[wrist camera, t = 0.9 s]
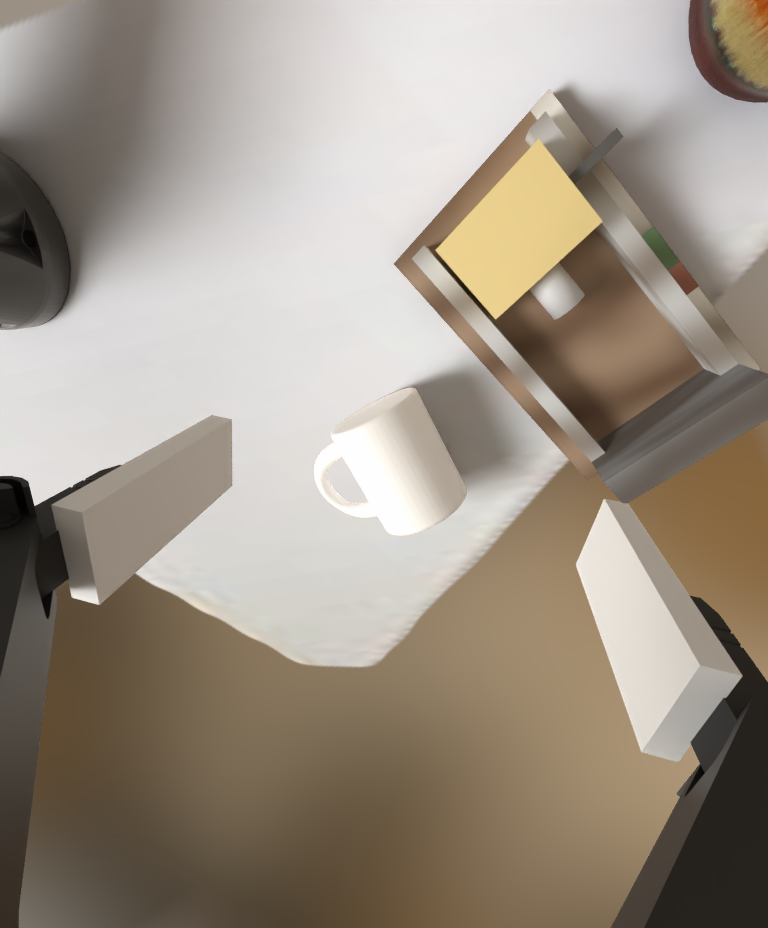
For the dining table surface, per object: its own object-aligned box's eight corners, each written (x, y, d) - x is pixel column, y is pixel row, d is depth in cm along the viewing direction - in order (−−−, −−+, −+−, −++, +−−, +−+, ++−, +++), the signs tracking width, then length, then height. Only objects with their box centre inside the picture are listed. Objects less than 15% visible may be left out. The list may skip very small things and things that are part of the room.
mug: (420, 378, 37) (407, 403, 30) (468, 473, 40) (466, 516, 33) (310, 432, 42) (276, 465, 34) (360, 515, 44) (338, 561, 37)
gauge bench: (396, 264, 34) (377, 262, 28) (545, 96, 28) (566, 45, 22) (584, 474, 38) (606, 515, 31) (749, 365, 32) (818, 388, 26)
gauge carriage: (440, 253, 32) (435, 250, 28) (574, 109, 27) (591, 81, 23) (518, 343, 33) (524, 352, 29) (658, 221, 29) (688, 213, 25)
